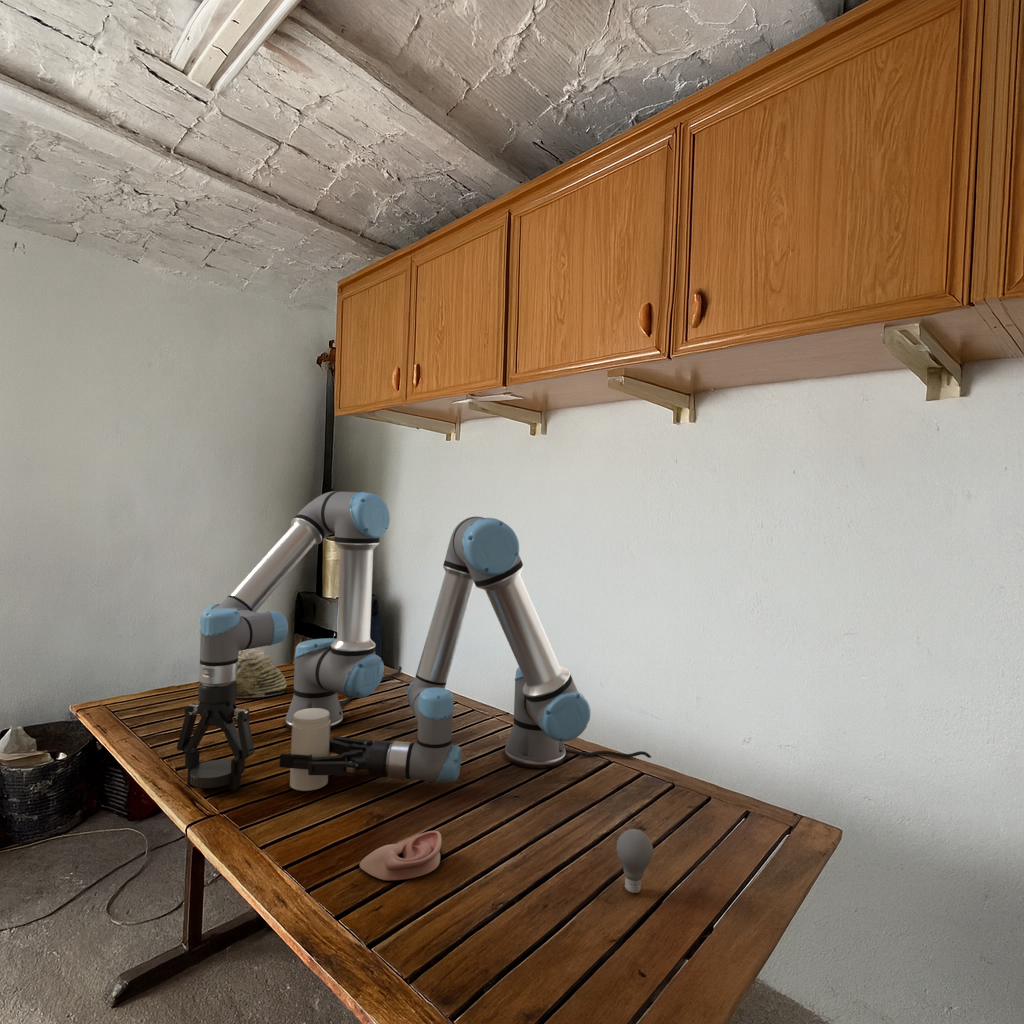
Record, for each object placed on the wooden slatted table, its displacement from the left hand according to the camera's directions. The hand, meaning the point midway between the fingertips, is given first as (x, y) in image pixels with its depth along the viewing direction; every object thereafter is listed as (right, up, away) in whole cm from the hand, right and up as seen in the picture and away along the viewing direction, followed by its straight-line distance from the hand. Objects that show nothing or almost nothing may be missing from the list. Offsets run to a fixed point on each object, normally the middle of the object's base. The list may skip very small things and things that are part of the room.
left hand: (214, 785), depth 136 cm
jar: (+19, -1, +4) cm, 20 cm away
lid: (0, +3, 0) cm, 3 cm away
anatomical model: (+45, -3, -25) cm, 52 cm away
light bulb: (+84, -5, -31) cm, 90 cm away
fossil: (-16, +2, +62) cm, 64 cm away
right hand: (+15, +6, +4) cm, 16 cm away
